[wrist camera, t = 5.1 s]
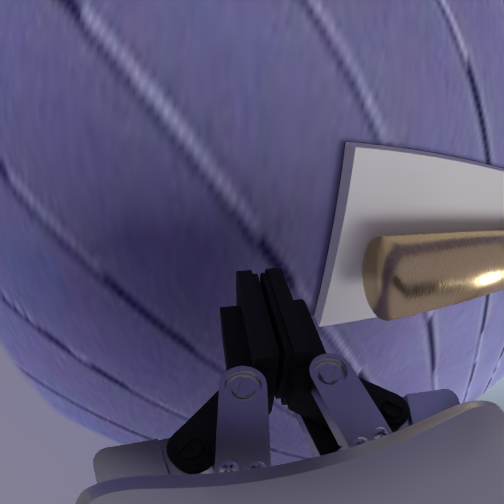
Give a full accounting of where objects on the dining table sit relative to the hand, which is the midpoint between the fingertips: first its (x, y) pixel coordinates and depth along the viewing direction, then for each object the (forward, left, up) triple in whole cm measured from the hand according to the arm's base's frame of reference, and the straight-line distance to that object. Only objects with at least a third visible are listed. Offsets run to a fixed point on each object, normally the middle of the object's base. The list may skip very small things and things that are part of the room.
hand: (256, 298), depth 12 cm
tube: (0, -18, -3) cm, 18 cm away
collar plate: (0, -25, -4) cm, 25 cm away
